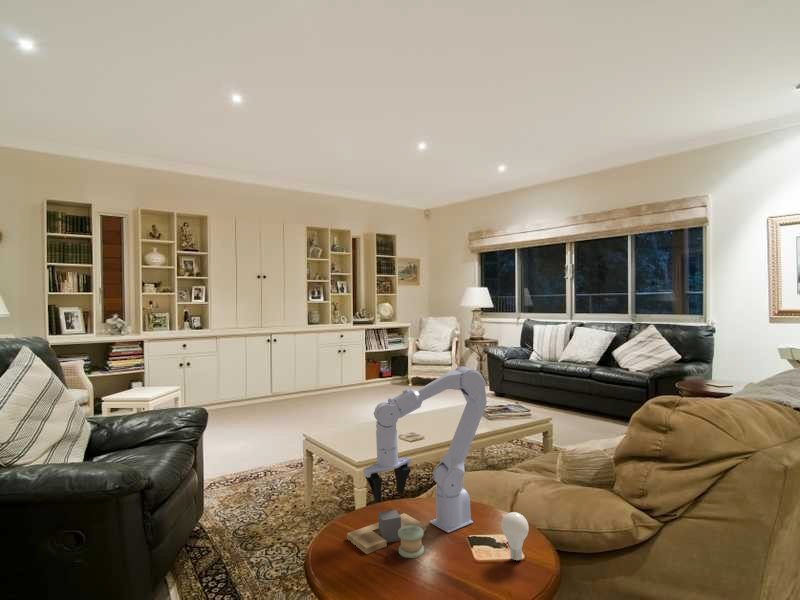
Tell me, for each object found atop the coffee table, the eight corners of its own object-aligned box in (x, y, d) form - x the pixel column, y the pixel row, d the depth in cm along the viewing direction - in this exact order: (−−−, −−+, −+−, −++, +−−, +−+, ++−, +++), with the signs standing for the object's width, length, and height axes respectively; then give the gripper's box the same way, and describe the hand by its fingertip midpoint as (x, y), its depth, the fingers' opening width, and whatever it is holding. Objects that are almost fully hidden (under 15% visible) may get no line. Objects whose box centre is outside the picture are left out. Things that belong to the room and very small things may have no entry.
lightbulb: (531, 568, 107) (529, 519, 107) (502, 566, 108) (500, 518, 109) (529, 553, 113) (527, 508, 113) (502, 552, 114) (500, 507, 115)
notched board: (404, 518, 135) (404, 513, 135) (426, 530, 127) (426, 525, 127) (347, 538, 124) (346, 533, 124) (366, 554, 116) (366, 548, 116)
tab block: (396, 531, 127) (395, 509, 127) (401, 540, 122) (400, 517, 123) (378, 534, 126) (378, 512, 126) (383, 543, 121) (382, 520, 121)
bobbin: (413, 542, 121) (413, 522, 121) (429, 552, 116) (428, 531, 116) (393, 550, 117) (393, 530, 117) (408, 561, 112) (408, 540, 112)
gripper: (399, 439, 135) (401, 486, 135) (356, 449, 127) (358, 499, 126) (414, 444, 130) (416, 493, 129) (370, 455, 121) (372, 508, 121)
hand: (389, 497), depth 127 cm, fingers open, 7 cm apart
